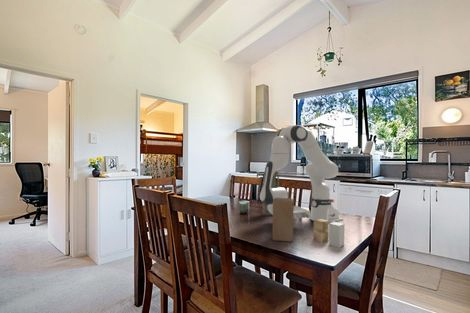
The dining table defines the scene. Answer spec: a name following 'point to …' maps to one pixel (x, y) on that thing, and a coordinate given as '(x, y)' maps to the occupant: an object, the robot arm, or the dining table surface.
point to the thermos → (273, 185)
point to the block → (283, 219)
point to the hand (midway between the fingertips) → (302, 217)
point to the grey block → (336, 234)
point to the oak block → (321, 230)
